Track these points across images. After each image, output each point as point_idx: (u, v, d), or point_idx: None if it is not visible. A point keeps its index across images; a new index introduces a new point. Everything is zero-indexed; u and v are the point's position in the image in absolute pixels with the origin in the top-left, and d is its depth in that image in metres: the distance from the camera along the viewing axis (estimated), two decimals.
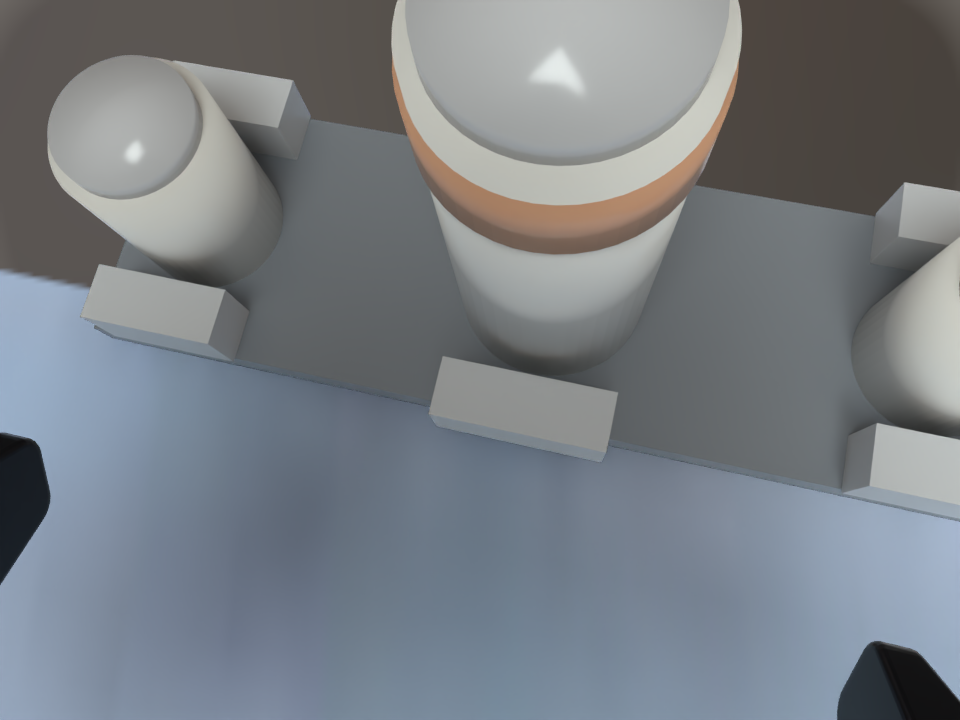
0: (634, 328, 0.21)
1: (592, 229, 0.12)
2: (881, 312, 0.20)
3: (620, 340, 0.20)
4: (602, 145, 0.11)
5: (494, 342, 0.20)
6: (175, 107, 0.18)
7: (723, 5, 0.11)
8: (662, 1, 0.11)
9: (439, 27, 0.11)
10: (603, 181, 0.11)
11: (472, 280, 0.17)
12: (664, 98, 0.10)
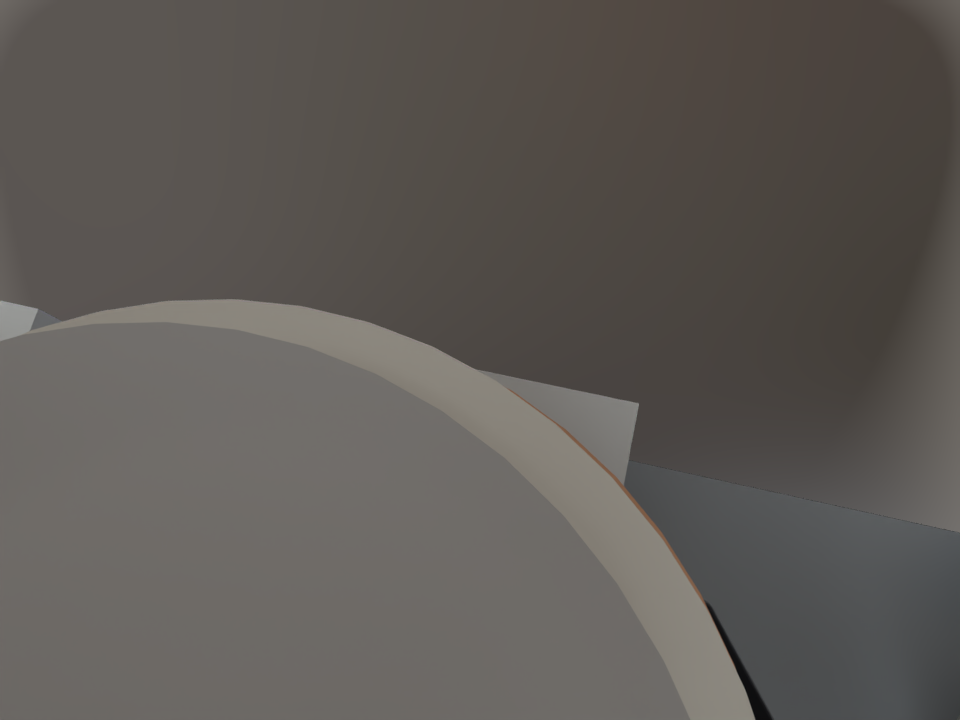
0: None
1: None
2: None
3: None
4: None
5: None
6: None
7: None
8: None
9: None
10: None
11: None
12: None
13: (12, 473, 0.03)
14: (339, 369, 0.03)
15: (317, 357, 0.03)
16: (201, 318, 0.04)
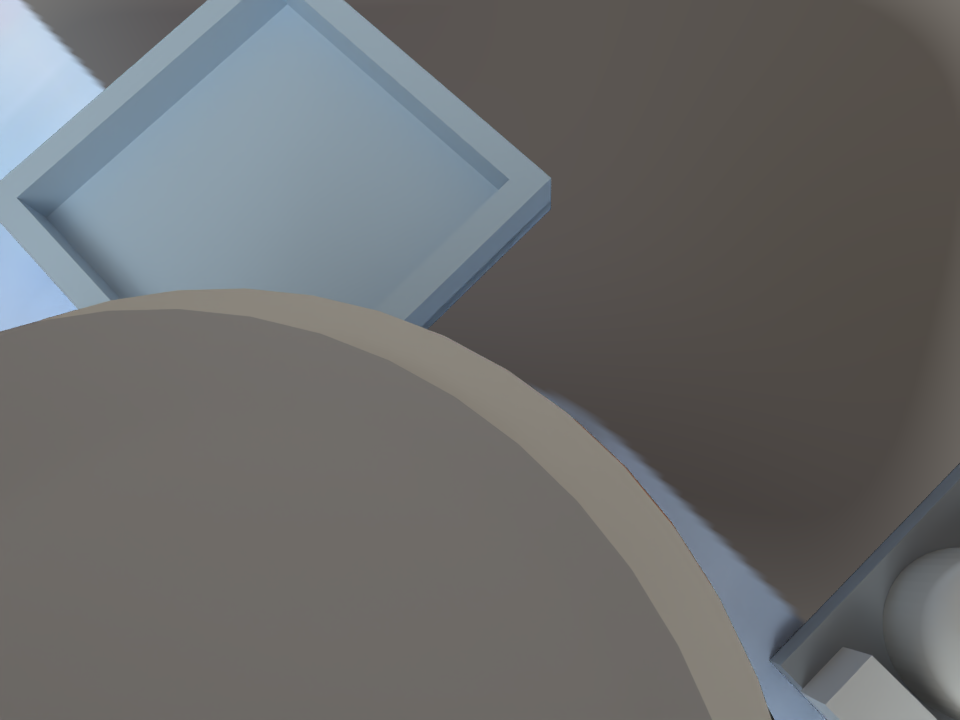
0: None
1: None
2: None
3: None
4: None
5: None
6: None
7: None
8: None
9: None
10: None
11: None
12: None
13: (26, 459, 0.03)
14: (352, 355, 0.03)
15: (330, 343, 0.03)
16: (212, 307, 0.04)
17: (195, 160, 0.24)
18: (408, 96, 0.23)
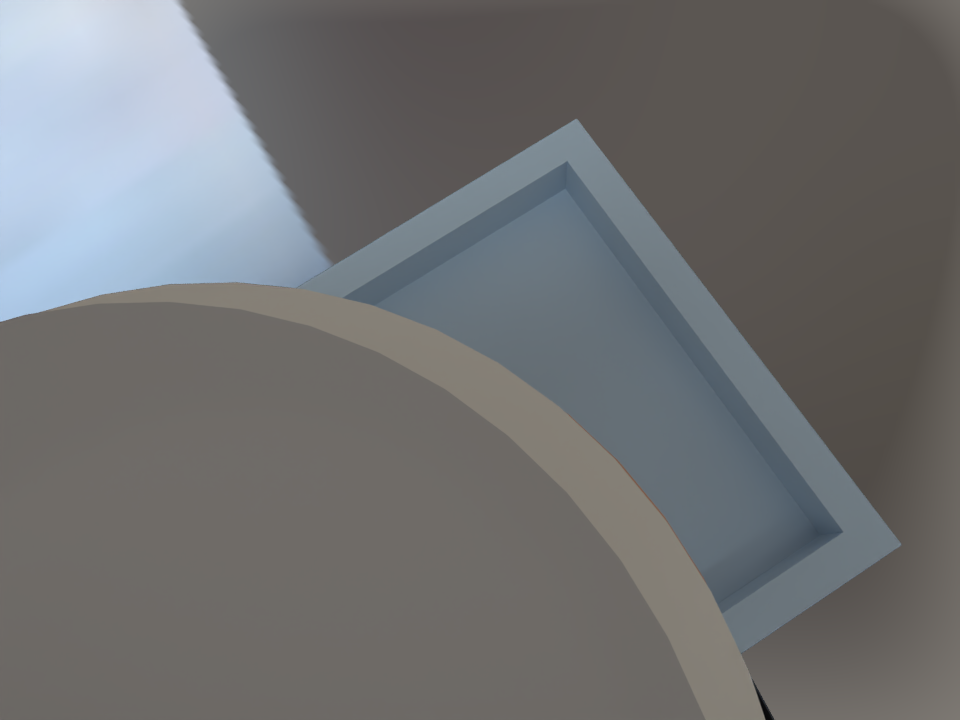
0: None
1: None
2: None
3: None
4: None
5: None
6: None
7: None
8: None
9: None
10: None
11: None
12: None
13: (16, 452, 0.03)
14: (343, 348, 0.03)
15: (321, 336, 0.03)
16: (204, 301, 0.04)
17: None
18: (716, 370, 0.18)
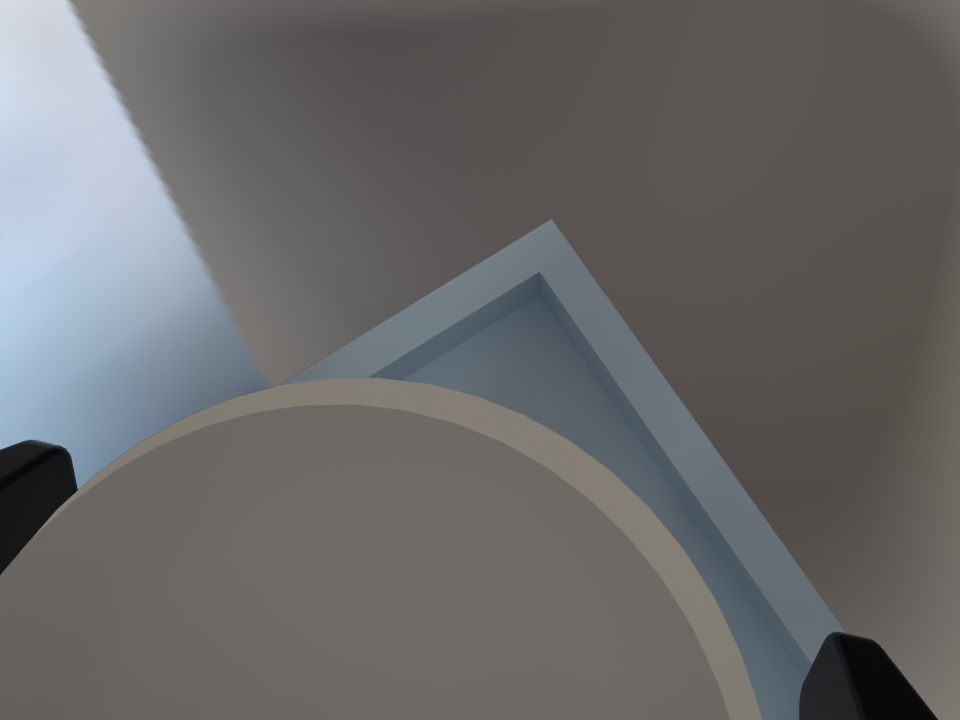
0: None
1: None
2: None
3: None
4: None
5: None
6: None
7: None
8: None
9: None
10: None
11: None
12: None
13: (258, 507, 0.04)
14: (477, 439, 0.05)
15: (462, 431, 0.05)
16: (357, 392, 0.05)
17: None
18: (717, 534, 0.14)
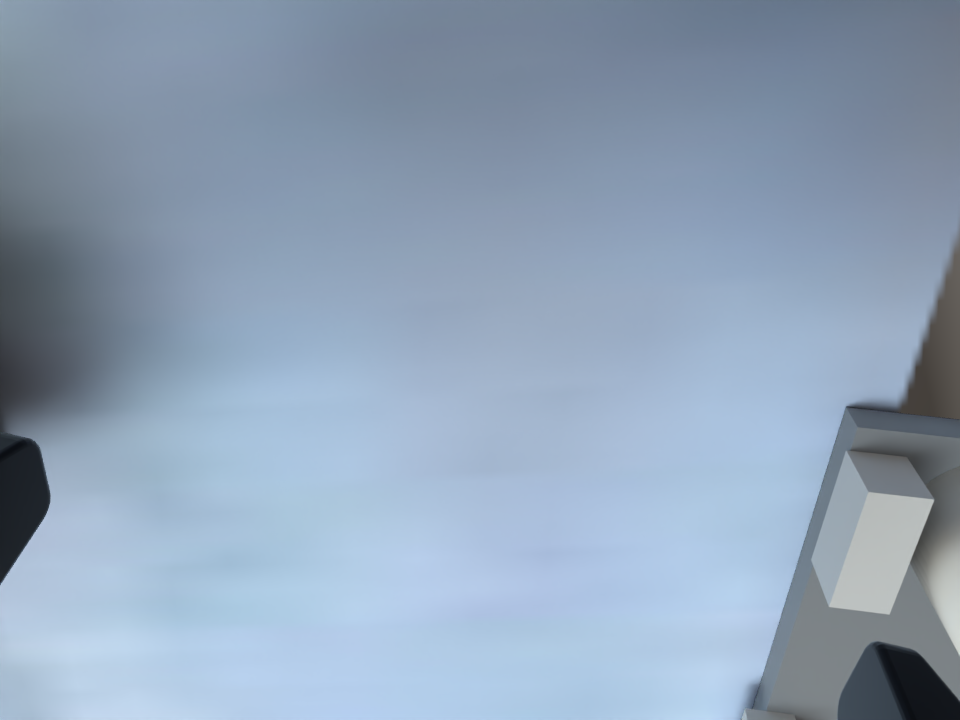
0: None
1: None
2: None
3: None
4: None
5: None
6: None
7: None
8: None
9: None
10: None
11: None
12: None
13: None
14: None
15: None
16: None
17: None
18: None
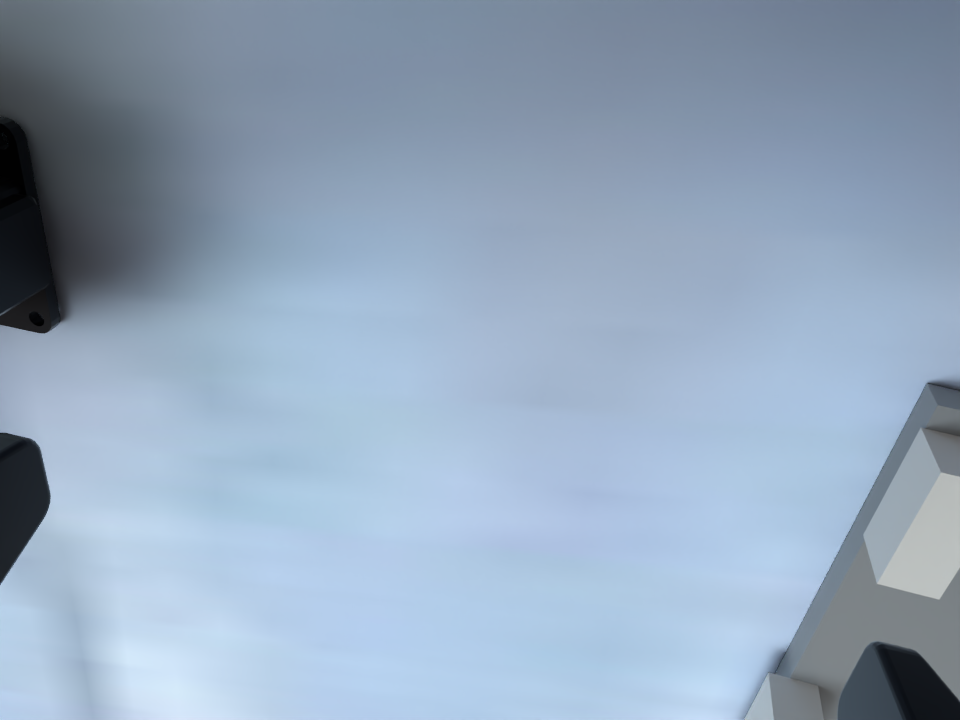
0: None
1: None
2: None
3: None
4: None
5: None
6: None
7: None
8: None
9: None
10: None
11: None
12: None
13: None
14: None
15: None
16: None
17: None
18: None
